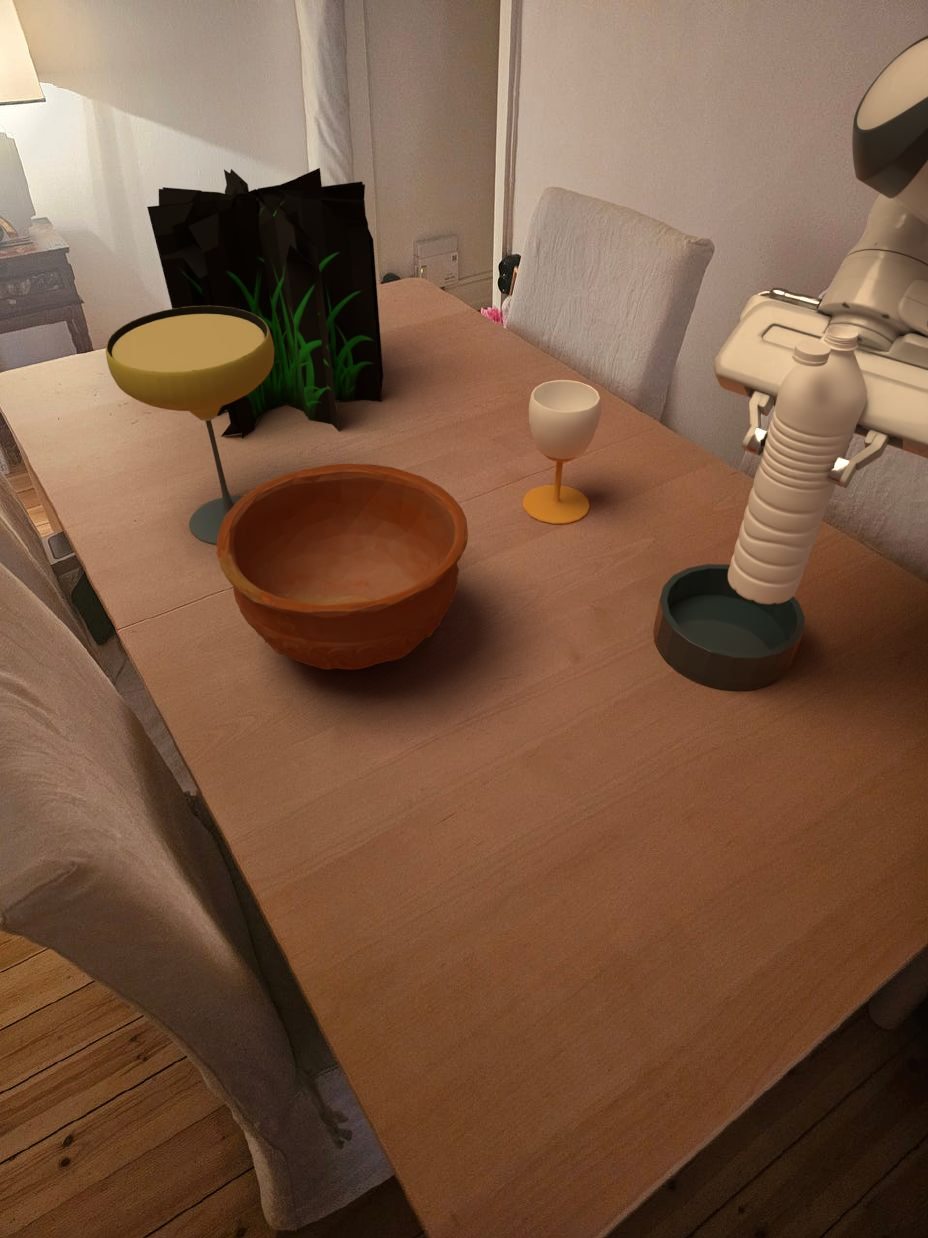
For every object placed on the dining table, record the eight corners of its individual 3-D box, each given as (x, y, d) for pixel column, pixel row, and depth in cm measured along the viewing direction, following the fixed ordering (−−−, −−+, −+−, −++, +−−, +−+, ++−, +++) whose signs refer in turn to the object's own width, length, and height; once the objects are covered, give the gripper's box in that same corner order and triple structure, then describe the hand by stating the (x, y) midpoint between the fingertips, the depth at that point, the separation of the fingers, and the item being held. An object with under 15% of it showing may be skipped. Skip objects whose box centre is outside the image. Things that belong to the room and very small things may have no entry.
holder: (812, 632, 92) (825, 599, 89) (758, 713, 84) (771, 679, 80) (690, 580, 99) (698, 547, 96) (629, 650, 90) (635, 616, 87)
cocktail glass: (263, 468, 117) (229, 292, 101) (325, 528, 107) (299, 344, 90) (140, 511, 110) (81, 329, 93) (193, 582, 99) (138, 390, 82)
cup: (552, 532, 106) (562, 421, 95) (508, 500, 111) (513, 391, 101) (603, 509, 110) (618, 399, 99) (559, 478, 115) (568, 371, 104)
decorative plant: (202, 363, 142) (158, 172, 122) (374, 349, 146) (359, 161, 126) (192, 449, 121) (137, 235, 101) (393, 430, 125) (379, 221, 105)
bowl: (203, 626, 93) (171, 518, 83) (382, 539, 105) (373, 436, 95) (322, 760, 79) (301, 650, 69) (513, 643, 91) (519, 535, 81)
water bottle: (751, 553, 82) (825, 305, 65) (809, 584, 78) (905, 331, 61) (699, 592, 78) (764, 337, 61) (758, 627, 74) (846, 367, 57)
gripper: (752, 263, 69) (673, 412, 70) (1014, 330, 59) (917, 502, 61) (763, 299, 75) (689, 437, 76) (1004, 367, 65) (915, 523, 66)
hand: (792, 466), depth 68 cm, fingers closed on water bottle, 6 cm apart
